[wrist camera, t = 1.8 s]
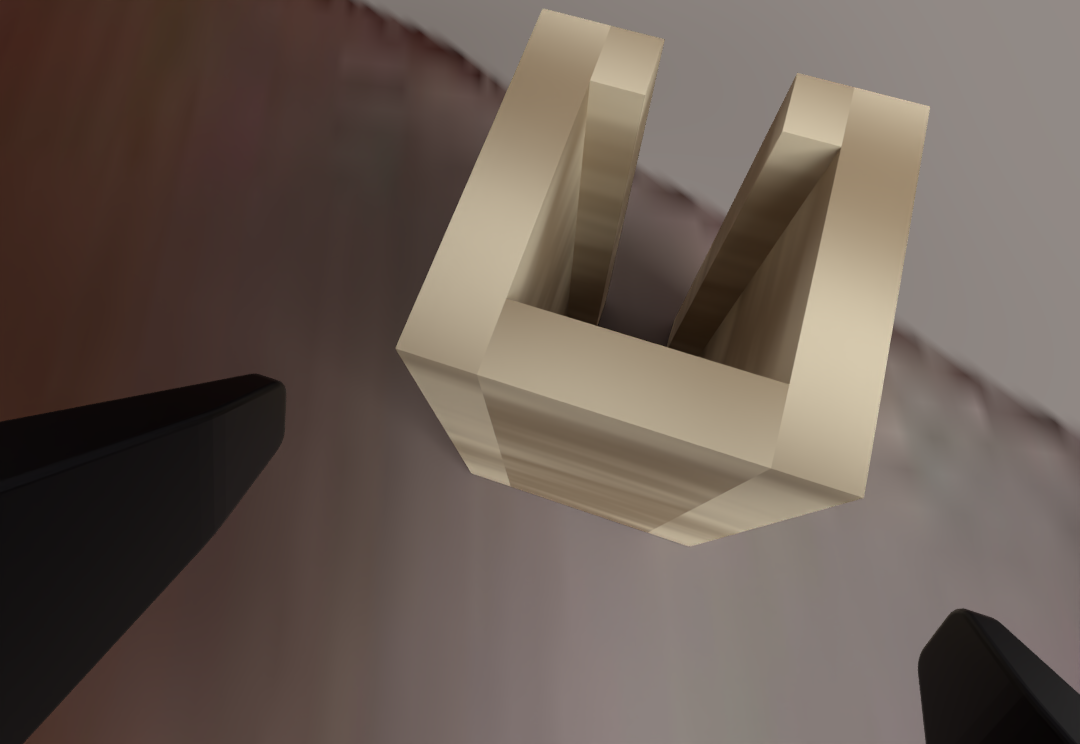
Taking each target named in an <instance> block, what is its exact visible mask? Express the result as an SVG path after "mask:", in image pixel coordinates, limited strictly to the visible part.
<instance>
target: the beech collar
mask: <svg viewBox="0 0 1080 744" xmlns="http://www.w3.org/2000/svg"><path fill="white" fill-rule="evenodd" d="M663 45H664V39H661V38H657V37H653V36H649V35H645V34H641V33H637V32H633V31H629V30H626V29H622V28H618V27H614V26H610V25H606V24H602V23H598V22H594V21H590V20H586V19H582V18H578V17H574V16H570V15H566V14H563V13H559V12H555V11H550V10H547V9H542V12H541V14H540V16H539V18H538V21H537V23H536V25H535V28H534V30H533V32H532V35H531V37H530V39H529V41H528V44H527V46H526V48H525V51H524V53H523V55H522V58H521V60H520V62H519V65H518V67H517V69H516V71H515V74H514V76H513V78H512V81H511V83H510V85H509V87H508V90H507V92H506V94H505V97H504V99H503V101H502V104H501V106H500V108H499V111H498V113H497V115H496V117H495V120H494V122H493V124H492V127H491V129H490V131H489V134H488V136H487V138H486V141H485V143H484V145H483V147H482V150H481V152H480V154H479V157H478V159H477V161H476V164H475V166H474V168H473V171H472V173H471V175H470V177H469V180H468V182H467V184H466V187H465V189H464V191H463V194H462V196H461V198H460V200H459V203H458V205H457V207H456V210H455V212H454V214H453V217H452V219H451V221H450V224H449V226H448V228H447V230H446V233H445V235H444V237H443V240H442V242H441V244H440V247H439V249H438V251H437V254H436V256H435V258H434V260H433V263H432V265H431V267H430V270H429V272H428V274H427V277H426V279H425V281H424V284H423V286H422V288H421V290H420V293H419V295H418V297H417V300H416V302H415V304H414V307H413V309H412V311H411V313H410V316H409V318H408V320H407V323H406V325H405V327H404V330H403V332H402V334H401V337H400V339H399V341H398V343H397V346H396V348H395V349H396V350H397V352H398V354H399V355H400V357H401V359H402V360H403V362H404V364H405V365H406V367H407V368H408V370H409V372H410V373H411V375H412V377H413V378H414V380H415V382H416V383H417V385H418V387H419V388H420V390H421V391H422V393H423V395H424V396H425V398H426V400H427V401H428V403H429V405H430V406H431V408H432V409H433V411H434V413H435V414H436V416H437V418H438V419H439V421H440V423H441V424H442V426H443V428H444V429H445V431H446V432H447V434H448V436H449V437H450V439H451V441H452V442H453V444H454V446H455V447H456V449H457V450H458V452H459V454H460V455H461V457H462V459H463V460H464V462H465V464H466V465H467V467H468V469H469V470H470V472H471V473H472V474H475V475H478V476H481V477H484V478H487V479H490V480H493V481H496V482H499V483H502V484H505V485H507V486H510V487H513V488H516V489H519V490H522V491H525V492H528V493H531V494H534V495H537V496H540V497H543V498H546V499H549V500H552V501H555V502H558V503H561V504H564V505H567V506H570V507H573V508H576V509H579V510H582V511H585V512H588V513H591V514H594V515H597V516H600V517H603V518H606V519H609V520H612V521H614V522H617V523H620V524H623V525H626V526H629V527H632V528H635V529H638V530H641V531H644V532H647V533H650V534H653V535H656V536H659V537H662V538H665V539H668V540H671V541H674V542H677V543H680V544H683V545H686V546H689V547H690V546H693V545H697V544H700V543H704V542H708V541H711V540H715V539H718V538H722V537H726V536H729V535H733V534H736V533H740V532H744V531H747V530H751V529H754V528H758V527H761V526H765V525H769V524H772V523H776V522H779V521H783V520H787V519H790V518H794V517H797V516H801V515H805V514H808V513H812V512H815V511H819V510H822V509H826V508H830V507H833V506H837V505H840V504H844V503H848V502H851V501H855V500H858V499H862V498H864V494H865V488H866V482H867V476H868V470H869V464H870V458H871V452H872V446H873V441H874V435H875V429H876V423H877V417H878V411H879V405H880V399H881V393H882V388H883V382H884V376H885V370H886V364H887V358H888V352H889V346H890V340H891V335H892V329H893V323H894V317H895V311H896V305H897V299H898V293H899V287H900V281H901V276H902V270H903V264H904V258H905V252H906V246H907V240H908V234H909V228H910V223H911V217H912V210H913V205H914V199H915V193H916V187H917V181H918V175H919V169H920V163H921V158H922V152H923V146H924V140H925V134H926V128H927V122H928V117H929V111H930V106H926V105H921V104H918V103H914V102H910V101H905V100H902V99H898V98H894V97H889V96H886V95H882V94H878V93H874V92H870V91H866V90H862V89H859V88H854V87H850V86H847V85H843V84H839V83H835V82H831V81H827V80H823V79H819V78H815V77H811V76H807V75H803V74H799V73H797V75H796V77H795V79H794V81H793V83H792V85H791V87H790V89H789V91H788V93H787V95H786V97H785V99H784V101H783V103H782V105H781V107H780V109H779V111H778V113H777V115H776V117H775V119H774V121H773V123H772V125H771V127H770V129H769V131H768V133H767V135H766V137H765V139H764V141H763V143H762V145H761V147H760V149H759V151H758V153H757V155H756V157H755V159H754V161H753V163H752V165H751V168H750V169H749V171H748V173H747V175H746V178H745V179H744V181H743V183H742V185H741V187H740V189H739V192H738V193H737V196H736V198H735V199H734V202H733V203H732V205H731V208H730V209H729V211H728V213H727V215H726V218H725V220H724V222H723V224H722V226H721V228H720V230H719V232H718V234H717V236H716V238H715V240H714V242H713V244H712V246H711V248H710V250H709V252H708V254H707V256H706V258H705V260H704V262H703V264H702V266H701V268H700V270H699V272H698V274H697V276H696V278H695V280H694V282H693V284H692V286H691V288H690V290H689V292H688V294H687V296H686V298H685V300H684V302H683V304H682V306H681V308H680V310H679V312H678V314H677V316H676V318H675V320H674V323H673V326H672V330H671V333H670V336H669V340H668V343H667V347H664V346H661V345H658V344H654V343H651V342H648V341H645V340H641V339H638V338H635V337H631V336H628V335H625V334H622V333H618V332H615V331H612V330H608V329H605V328H602V327H599V326H598V323H599V320H600V317H601V314H602V311H603V308H604V305H605V302H606V298H607V293H608V289H609V285H610V280H611V276H612V271H613V267H614V262H615V258H616V253H617V249H618V245H619V240H620V236H621V231H622V227H623V222H624V218H625V213H626V209H627V205H628V200H629V196H630V191H631V187H632V182H633V178H634V173H635V169H636V165H637V160H638V156H639V151H640V146H641V142H642V138H643V133H644V129H645V125H646V120H647V116H648V111H649V107H650V102H651V98H652V93H653V88H654V84H655V80H656V76H657V71H658V66H659V62H660V58H661V53H662V49H663Z"/></svg>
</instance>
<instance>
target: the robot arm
mask: <svg viewBox="0 0 1080 744" xmlns="http://www.w3.org/2000/svg"><path fill="white" fill-rule="evenodd" d="M285 412H286V388H285V386H284V384H283V383H282V382H280V381H278V380H275V379H272V378H269V377H266V376H263V375H260V374H248V375H243V376H238V377H233V378H227V379H222V380H217V381H212V382H207V383H201V384H196V385H191V386H186V387H180V388H175V389H170V390H165V391H159V392H154V393H149V394H144V395H138V396H133V397H128V398H123V399H117V400H112V401H107V402H102V403H96V404H91V405H86V406H81V407H75V408H70V409H65V410H60V411H54V412H49V413H44V414H39V415H33V416H28V417H23V418H18V419H12V420H7V421H2V422H0V744H23V743H24V742H25V741H26V740H27V739H28V738H29V737H30V735H31V734H32V733H33V732H34V731H35V730H36V729H37V728H38V727H39V726H40V725H41V724H42V722H43V721H44V720H45V719H46V718H47V717H48V716H49V715H50V714H51V713H52V712H53V710H54V709H55V708H56V707H57V706H58V705H59V704H60V703H61V702H62V701H63V700H64V698H65V697H66V696H67V695H68V694H69V693H70V692H71V691H72V690H73V689H74V688H75V686H76V685H77V684H78V683H79V682H80V681H81V680H82V679H83V678H84V677H85V676H86V674H87V673H88V672H89V671H90V670H91V669H92V668H93V667H94V666H95V665H96V664H97V662H98V661H99V660H100V659H101V658H102V657H103V656H104V655H105V654H106V653H107V652H108V651H109V649H110V648H111V647H112V646H113V645H114V644H115V643H116V642H117V641H118V640H119V639H120V637H121V636H122V635H123V634H124V633H125V632H126V631H127V630H128V629H129V628H130V627H131V625H132V624H133V623H134V622H135V621H136V620H137V619H138V618H139V617H140V616H141V615H142V613H143V612H144V611H145V610H146V609H147V608H148V607H149V606H150V605H151V604H152V603H153V601H154V600H155V599H156V598H157V597H158V596H159V595H160V594H161V593H162V592H163V591H164V590H165V588H166V587H167V586H168V585H169V584H170V583H171V582H172V581H173V580H174V579H175V578H176V576H177V575H178V574H179V573H180V572H181V571H182V570H183V569H184V568H185V567H186V566H187V564H188V563H189V562H190V561H191V560H192V559H193V558H194V557H195V556H196V555H197V554H198V552H199V551H200V550H201V549H202V548H203V547H204V546H205V545H206V544H207V542H208V541H209V540H210V539H211V538H212V537H213V536H214V534H215V533H216V532H217V531H218V529H219V528H220V527H221V526H222V524H223V523H224V522H225V520H226V519H227V518H228V516H229V515H230V514H231V512H232V511H233V510H234V508H235V507H236V506H237V504H238V503H239V502H240V500H241V499H242V497H243V496H244V495H245V493H246V492H247V491H248V489H249V488H250V487H251V485H252V484H253V483H254V481H255V480H256V478H257V477H258V476H259V474H260V473H261V472H262V470H263V469H264V468H265V466H266V465H267V464H268V462H269V461H270V460H271V458H272V457H273V455H274V454H275V453H276V451H277V450H278V448H279V447H280V445H281V443H282V440H283V437H284V432H285ZM918 676H919V685H920V695H921V704H922V713H923V722H924V731H925V741H926V744H1080V694H1079V693H1077V692H1076V691H1075V690H1074V689H1073V688H1072V687H1071V686H1070V685H1069V684H1067V683H1066V682H1065V681H1064V680H1063V679H1062V678H1061V677H1060V676H1059V675H1058V674H1056V673H1055V672H1054V671H1053V670H1052V669H1051V668H1050V667H1049V666H1048V665H1046V664H1045V663H1044V662H1043V661H1042V660H1041V659H1040V658H1039V657H1038V656H1037V655H1035V654H1034V653H1033V652H1032V651H1031V650H1030V649H1029V648H1028V647H1027V646H1025V645H1024V644H1023V643H1022V642H1021V641H1020V640H1019V639H1018V638H1017V637H1016V636H1014V635H1013V634H1012V633H1011V632H1010V631H1009V630H1008V629H1007V628H1006V627H1004V626H1003V625H1002V624H1001V623H1000V622H999V621H997V620H995V619H994V618H992V617H988V616H985V615H982V614H979V613H976V612H973V611H970V610H967V609H956V610H954V611H953V612H951V613H950V614H949V615H948V617H947V618H946V619H945V621H944V622H943V623H942V625H941V626H940V627H939V628H938V630H937V631H936V632H935V634H934V635H933V636H932V638H931V639H930V640H929V642H928V643H927V644H926V646H925V647H924V648H923V650H922V652H921V654H920V657H919V661H918Z"/></svg>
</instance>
